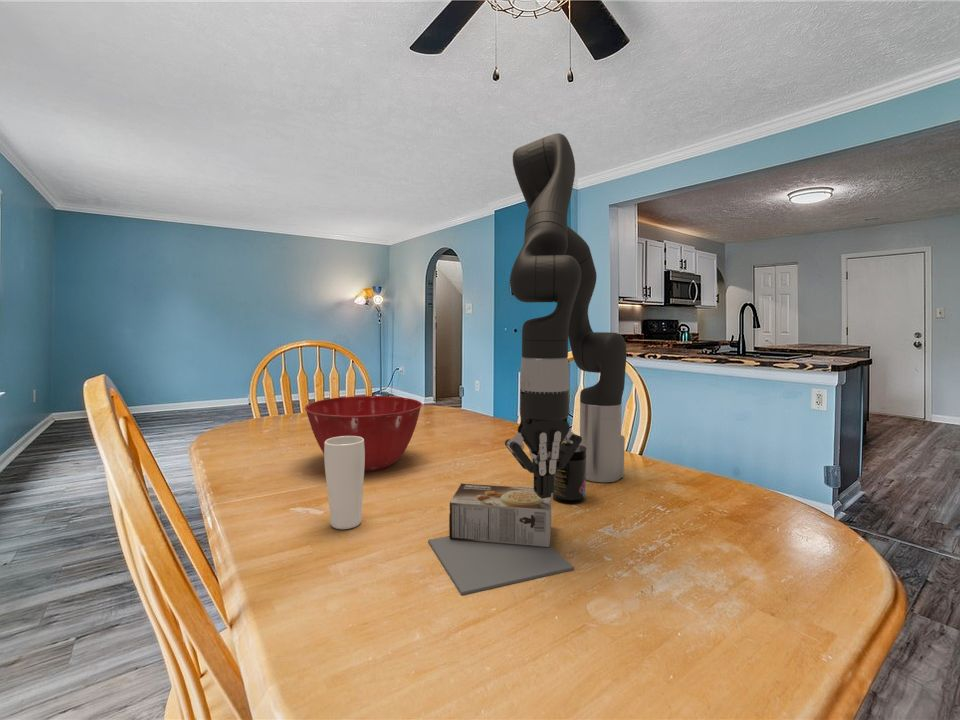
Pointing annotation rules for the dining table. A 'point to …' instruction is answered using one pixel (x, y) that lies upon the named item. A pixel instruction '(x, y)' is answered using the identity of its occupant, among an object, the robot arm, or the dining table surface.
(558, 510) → the dining table surface
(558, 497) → the supplement container
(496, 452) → the dining table surface
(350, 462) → the drinking glass
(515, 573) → the slate mat
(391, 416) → the mixing bowl
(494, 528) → the coffee box
